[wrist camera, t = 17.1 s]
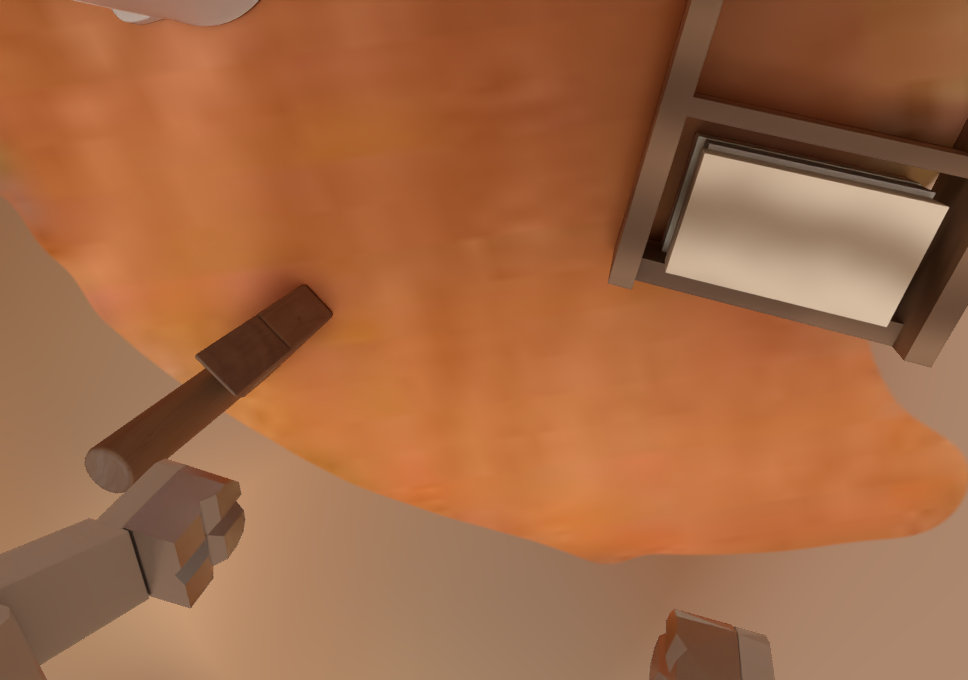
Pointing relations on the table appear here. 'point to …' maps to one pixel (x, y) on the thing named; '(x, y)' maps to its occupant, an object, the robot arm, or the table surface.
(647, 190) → the walnut rack
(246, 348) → the brown wooden handled piece
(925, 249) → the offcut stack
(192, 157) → the table surface
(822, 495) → the table surface
